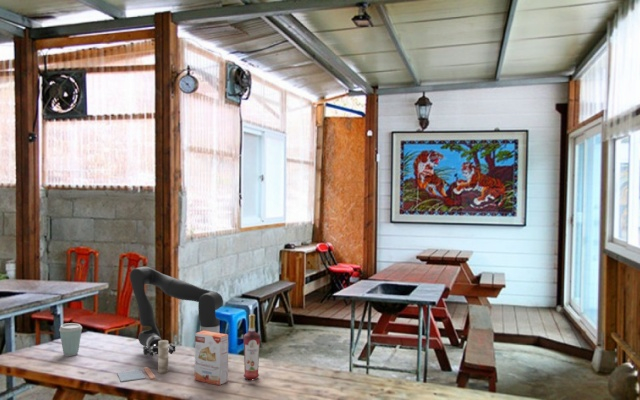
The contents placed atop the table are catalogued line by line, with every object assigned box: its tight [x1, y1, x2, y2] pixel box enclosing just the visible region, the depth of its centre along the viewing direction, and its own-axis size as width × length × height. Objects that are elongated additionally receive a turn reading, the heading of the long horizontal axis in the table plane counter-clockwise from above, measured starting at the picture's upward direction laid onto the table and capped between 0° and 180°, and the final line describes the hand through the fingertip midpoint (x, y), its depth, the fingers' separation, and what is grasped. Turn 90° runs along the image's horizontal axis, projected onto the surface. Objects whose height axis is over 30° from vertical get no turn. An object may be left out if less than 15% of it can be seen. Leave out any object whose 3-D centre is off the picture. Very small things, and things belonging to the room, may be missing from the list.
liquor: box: [243, 314, 261, 381], centre depth 235 cm, size 7×7×28 cm
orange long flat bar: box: [143, 366, 156, 380], centre depth 240 cm, size 2×16×1 cm, turn 28°
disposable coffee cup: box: [58, 322, 83, 357], centre depth 268 cm, size 11×11×15 cm
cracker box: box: [194, 331, 229, 386], centre depth 231 cm, size 14×6×21 cm, turn 62°
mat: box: [116, 369, 146, 383], centre depth 236 cm, size 10×12×1 cm
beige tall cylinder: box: [157, 339, 169, 374], centre depth 243 cm, size 4×4×14 cm
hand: (162, 353), depth 245 cm, fingers open, 8 cm apart
